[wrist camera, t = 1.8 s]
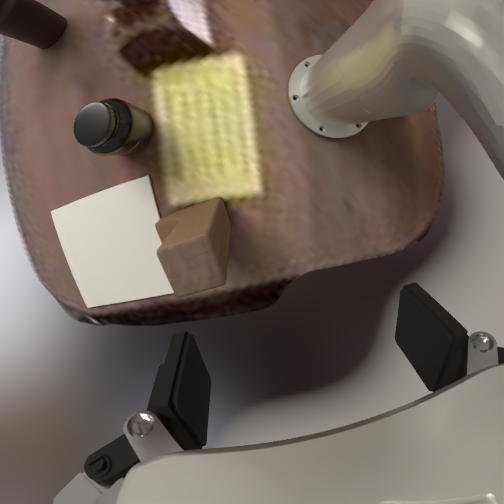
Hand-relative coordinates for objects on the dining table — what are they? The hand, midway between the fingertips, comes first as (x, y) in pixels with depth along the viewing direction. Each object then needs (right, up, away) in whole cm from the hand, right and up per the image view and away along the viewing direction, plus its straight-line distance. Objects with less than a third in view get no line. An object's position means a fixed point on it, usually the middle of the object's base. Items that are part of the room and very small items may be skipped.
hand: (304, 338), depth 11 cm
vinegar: (-37, +42, +13) cm, 57 cm away
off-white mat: (-24, +4, +27) cm, 37 cm away
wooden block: (-10, +8, +27) cm, 30 cm away
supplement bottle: (-19, +20, +22) cm, 35 cm away
